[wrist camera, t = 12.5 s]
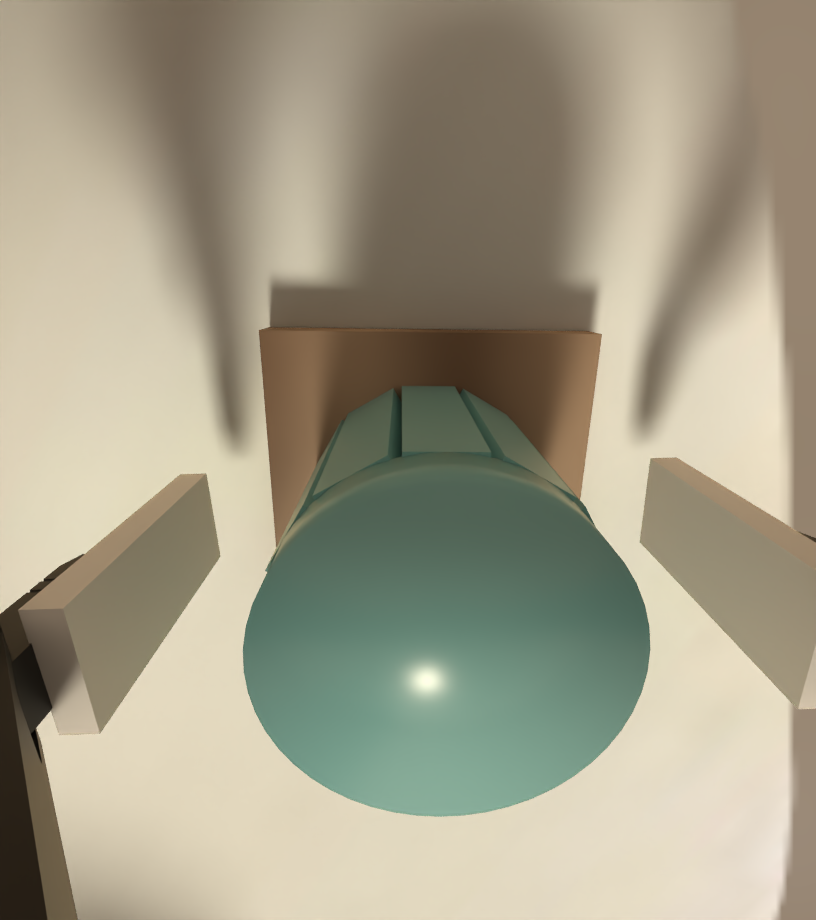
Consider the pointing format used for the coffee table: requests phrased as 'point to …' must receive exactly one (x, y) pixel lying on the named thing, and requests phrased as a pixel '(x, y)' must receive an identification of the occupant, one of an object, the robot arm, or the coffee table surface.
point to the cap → (442, 616)
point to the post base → (422, 364)
